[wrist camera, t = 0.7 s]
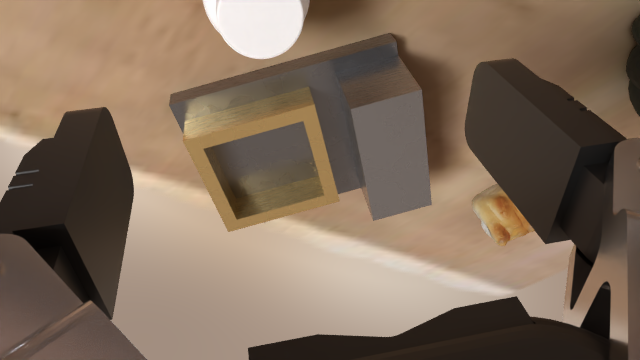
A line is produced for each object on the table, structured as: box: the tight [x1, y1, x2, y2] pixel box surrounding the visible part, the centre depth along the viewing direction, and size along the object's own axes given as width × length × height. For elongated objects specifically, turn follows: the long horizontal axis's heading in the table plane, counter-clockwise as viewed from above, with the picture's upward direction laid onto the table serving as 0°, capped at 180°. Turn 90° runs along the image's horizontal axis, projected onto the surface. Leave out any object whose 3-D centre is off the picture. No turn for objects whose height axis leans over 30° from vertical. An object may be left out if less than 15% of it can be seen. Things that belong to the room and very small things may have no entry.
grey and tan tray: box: [169, 33, 432, 232], centre depth 35 cm, size 16×12×6 cm
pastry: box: [472, 184, 535, 246], centre depth 45 cm, size 9×7×4 cm
